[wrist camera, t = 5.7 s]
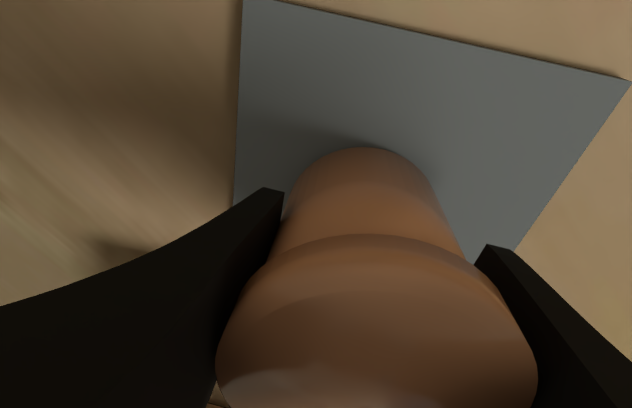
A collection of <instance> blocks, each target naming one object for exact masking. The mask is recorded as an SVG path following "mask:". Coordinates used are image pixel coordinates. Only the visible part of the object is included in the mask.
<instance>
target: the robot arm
mask: <svg viewBox="0 0 632 408" xmlns="http://www.w3.org/2000/svg"><path fill="white" fill-rule="evenodd" d="M284 195H285V192H282V191H278V190H274V189H270V188H266V187H262V188H260V189H258V190H257V191H255V192H254V193H252V194H251V195H249V196H248V197H246V198H245V199H243V200H242V201H240V202H239V203H237V204H236V205H234V206H233V207H231V208H230V209H228V210H227V211H225V212H223V213H222V214H220V215H218V216H217V217H215V218H214V219H212V220H210V221H209V222H207V223H205V224H204V225H202V226H200V227H198V228H197V229H195V230H193V231H191V232H189V233H187V234H186V235H184V236H182V237H180V238H178V239H177V240H175V241H173V242H171V243H169V244H167V245H165V246H163V247H161V248H159V249H157V250H154V251H152V252H150V253H148V254H145V255H143V256H141V257H139V258H136V259H134V260H132V261H130V262H127V263H125V264H122V265H120V266H117V267H115V268H112V269H109V270H107V271H104V272H101V273H98V274H96V275H93V276H90V277H88V278H85V279H82V280H80V281H77V282H74V283H72V284H69V285H66V286H63V287H60V288H57V289H54V290H51V291H48V292H45V293H42V294H39V295H36V296H33V297H30V298H27V299H23V300H20V301H17V302H13V303H10V304H7V305H3V306H0V408H206V406H207V403H208V401H209V398H210V396H211V393H212V391H213V388H214V386H215V383H216V381H217V378H216V373H215V356H216V352H217V348H218V344H219V342H220V339H221V337H222V334H223V332H224V330H225V327H226V325H227V322H228V320H229V317H230V315H231V312H232V310H233V308H234V305H235V303H236V300H237V298H238V296H239V294H240V292H241V290H242V288H243V287H244V286H245V284H246V283H247V281H248V280H249V278H250V277H251V276H252V275H253V274H254V273H255V272H256V271H257V270H258V269H259V268H260V267H262V266H263V265H265V263H266V260H267V257H268V255H269V252H270V249H271V246H272V243H273V240H274V238H275V235H276V232H277V229H278V227H279V224H280V221H281V214H282V208H283V201H284ZM474 266H475V267H476V268H477V269H479V270H480V271H481V272H482V273H483V274H485V275H486V276H487V277H488V278H489V279H490V281H491V282H492V283H493V284H494V285H495V286H496V287H497V289H498V290H499V292H500V294H501V295H502V297H503V299H504V300H505V302H506V304H507V306H508V307H509V309H510V311H511V313H512V315H513V317H514V319H515V320H516V322H517V324H518V326H519V328H520V330H521V332H522V333H523V335H524V337H525V339H526V341H527V343H528V345H529V346H530V348H531V350H532V352H533V355H534V358H535V361H536V364H537V371H538V385H537V392H536V395H535V398H534V400H533V403H532V405H531V407H530V408H632V362H631V361H630V360H629V359H628V358H627V357H625V356H624V355H623V354H622V353H621V352H620V351H619V350H618V349H616V348H615V347H614V346H613V345H612V344H611V343H610V342H609V341H607V340H606V339H605V338H604V337H603V336H602V335H601V334H600V333H599V332H598V331H597V330H596V329H594V328H593V327H592V326H591V325H590V324H589V323H588V322H587V321H586V320H585V319H584V318H583V317H582V316H581V315H580V314H579V313H577V312H576V311H575V310H574V309H573V308H572V307H571V306H570V305H569V304H568V303H567V302H566V301H565V300H564V299H563V298H562V297H561V296H560V295H559V294H558V293H557V292H556V291H555V290H554V289H553V288H552V287H551V286H550V285H549V284H548V283H547V282H545V281H544V280H543V279H542V278H541V277H540V276H539V275H538V274H537V273H536V272H535V271H534V270H533V269H532V268H531V267H530V266H529V265H528V264H527V263H525V262H524V261H523V260H522V259H521V258H520V257H519V256H518V255H516V254H515V253H514V252H513V251H511V250H510V249H506V248H502V247H498V246H495V245H491V244H486V246H485V247H484V249H483V250H482V252H481V253H480V255H479V257H478V258H477V260H476V261H475V263H474Z"/></svg>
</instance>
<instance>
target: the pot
mask: <svg viewBox="0 0 632 408" xmlns="http://www.w3.org/2000/svg"><path fill="white" fill-rule="evenodd" d="M215 373H216V378H217V382H218V385H219V387H220V390H221V392H222V394H223V396H224V398H225V399H226V401H227V403H228V404H229V405H230V407H231V408H530V407H531V405H532V403H533V400H534V398H535V395H536V392H537V385H538V371H537V364H536V361H535V358H534V355H533V352H532V350H531V348H530V346H529V345H528V343H527V341H526V339H525V337H524V335H523V333H522V332H521V330H520V328H519V326H518V324H517V322H516V320H515V319H514V317H513V315H512V313H511V311H510V309H509V307H508V306H507V304H506V302H505V300H504V299H503V297H502V295H501V294H500V292H499V290H498V289H497V287H496V286H495V285H494V284H493V283H492V282H491V281H490V279H489V278H488V277H487V276H486V275H485V274H483V273H482V272H481V271H480V270H479V269H477V268H476V267H475V266H474V265H473V264H471V263H469V262H468V261H466V258H465V256H464V254H463V252H462V250H461V248H460V246H459V244H458V241H457V239H456V237H455V235H454V233H453V231H452V229H451V226H450V224H449V222H448V220H447V218H446V216H445V214H444V212H443V209H442V207H441V205H440V203H439V201H438V199H437V197H436V195H435V192H434V190H433V188H432V186H431V184H430V183H429V181H428V179H427V178H426V176H425V175H424V174H423V173H422V171H421V170H420V169H419V168H417V167H416V166H415V165H414V164H413V163H412V162H410V161H409V160H407V159H406V158H404V157H402V156H400V155H398V154H396V153H393V152H390V151H387V150H383V149H378V148H371V147H354V148H347V149H342V150H338V151H335V152H332V153H330V154H328V155H325V156H323V157H321V158H320V159H318V160H317V161H315V162H313V163H312V164H311V165H310V166H309V167H307V168H306V169H305V170H304V171H303V173H302V174H301V175H300V176H299V177H298V179H297V180H296V182H295V183H294V186H293V188H292V190H291V192H290V195H289V198H288V201H287V203H286V206H285V209H284V212H283V215H282V218H281V221H280V224H279V227H278V229H277V232H276V235H275V238H274V240H273V243H272V246H271V249H270V252H269V255H268V257H267V260H266V263H265V265H263V266H262V267H260V268H259V269H258V270H257V271H256V272H255V273H254V274H253V275H252V276H251V277H250V278H249V280H248V281H247V283H246V284H245V286H244V287H243V288H242V290H241V292H240V294H239V296H238V298H237V300H236V303H235V305H234V308H233V310H232V312H231V315H230V317H229V320H228V322H227V325H226V327H225V330H224V332H223V334H222V337H221V339H220V342H219V344H218V348H217V352H216V356H215Z"/></svg>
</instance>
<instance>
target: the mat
mask: <svg viewBox="0 0 632 408" xmlns="http://www.w3.org/2000/svg"><path fill="white" fill-rule="evenodd" d="M631 84H632V82H631V81H628V80H626V79H623V78H618V77H614V76H609V75H605V74H601V73H596V72H592V71H587V70H583V69H578V68H574V67H570V66H565V65H561V64H556V63H552V62H548V61H543V60H539V59H534V58H530V57H526V56H521V55H517V54H512V53H508V52H503V51H499V50H495V49H490V48H486V47H481V46H477V45H473V44H468V43H464V42H459V41H455V40H451V39H446V38H442V37H437V36H433V35H428V34H424V33H420V32H415V31H411V30H406V29H402V28H398V27H393V26H389V25H384V24H380V23H376V22H371V21H367V20H362V19H358V18H353V17H349V16H345V15H340V14H336V13H331V12H327V11H323V10H318V9H314V8H309V7H305V6H301V5H296V4H292V3H287V2H283V1H278V0H243V10H242V31H241V51H240V71H239V92H238V112H237V132H236V153H235V173H234V194H233V206H234V205H236V204H237V203H239V202H240V201H242V200H243V199H245V198H246V197H248V196H249V195H251V194H252V193H254V192H255V191H257V190H258V189H260V188H262V187H266V188H270V189H274V190H278V191H282V192H285V195H284V201H283V208H282V214H281V218H282V215H283V212H284V209H285V206H286V203H287V201H288V198H289V195H290V192H291V190H292V188H293V186H294V183H295V182H296V180H297V179H298V177H299V176H300V175H301V174H302V173H303V171H304V170H305V169H306V168H307V167H309V166H310V165H311V164H312V163H313V162H315V161H317V160H318V159H320V158H321V157H323V156H325V155H328V154H330V153H332V152H335V151H338V150H342V149H347V148H354V147H371V148H378V149H383V150H387V151H390V152H393V153H396V154H398V155H400V156H402V157H404V158H406V159H407V160H409V161H410V162H412V163H413V164H414V165H415V166H416V167H417V168H419V169H420V170H421V171H422V173H423V174H424V175H425V176H426V178H427V179H428V181H429V183H430V184H431V186H432V188H433V190H434V192H435V195H436V197H437V199H438V201H439V203H440V205H441V207H442V209H443V212H444V214H445V216H446V218H447V220H448V222H449V224H450V226H451V229H452V231H453V233H454V235H455V237H456V239H457V241H458V244H459V246H460V248H461V250H462V252H463V254H464V256H465V258H466V261H468V262H469V263H471V264H473V265H474V263H475V261H476V260H477V258H478V257H479V255H480V253H481V252H482V250H483V249H484V247H485V246H486V244H491V245H495V246H498V247H502V248H506V249H510V250H511V251H513V252H514V250H515V249H516V247H517V246H518V245H519V243H520V242H521V240H522V239H523V237H524V236H525V235H526V233H527V232H528V230H529V229H530V228H531V226H532V225H533V223H534V222H535V220H536V219H537V218H538V216H539V215H540V213H541V212H542V210H543V209H544V208H545V206H546V205H547V203H548V202H549V201H550V199H551V198H552V196H553V195H554V193H555V192H556V191H557V189H558V188H559V186H560V185H561V184H562V182H563V181H564V179H565V178H566V176H567V175H568V174H569V172H570V171H571V169H572V168H573V166H574V165H575V164H576V162H577V161H578V159H579V158H580V157H581V155H582V154H583V152H584V151H585V149H586V148H587V147H588V145H589V144H590V142H591V141H592V140H593V138H594V137H595V135H596V134H597V132H598V131H599V130H600V128H601V127H602V125H603V124H604V123H605V121H606V120H607V118H608V117H609V115H610V114H611V113H612V111H613V110H614V108H615V107H616V105H617V104H618V103H619V101H620V100H621V98H622V97H623V96H624V94H625V93H626V91H627V90H628V88H629V87H630V86H631Z"/></svg>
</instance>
